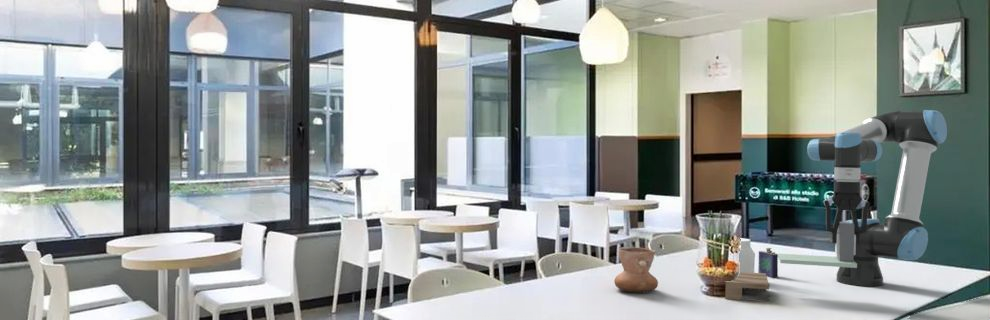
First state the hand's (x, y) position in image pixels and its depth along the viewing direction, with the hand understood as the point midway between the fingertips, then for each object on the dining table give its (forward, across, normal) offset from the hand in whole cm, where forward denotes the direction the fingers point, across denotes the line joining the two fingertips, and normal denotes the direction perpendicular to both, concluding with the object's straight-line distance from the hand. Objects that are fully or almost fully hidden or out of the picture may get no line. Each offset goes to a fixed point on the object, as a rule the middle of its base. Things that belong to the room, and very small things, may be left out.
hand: (845, 253), depth 226 cm
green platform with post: (+3, -8, 0) cm, 9 cm away
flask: (+15, -21, +37) cm, 45 cm away
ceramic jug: (+16, -65, -8) cm, 67 cm away
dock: (+15, -29, 0) cm, 33 cm away
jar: (+15, -32, +24) cm, 43 cm away
